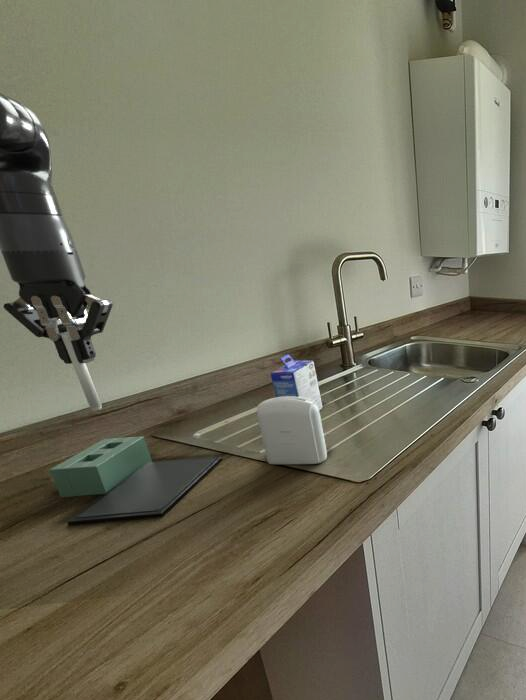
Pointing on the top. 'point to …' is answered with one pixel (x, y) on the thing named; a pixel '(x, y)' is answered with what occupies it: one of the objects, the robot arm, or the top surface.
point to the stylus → (82, 375)
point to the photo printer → (291, 430)
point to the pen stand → (100, 466)
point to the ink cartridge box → (296, 380)
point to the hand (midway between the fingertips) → (80, 361)
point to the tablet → (147, 491)
